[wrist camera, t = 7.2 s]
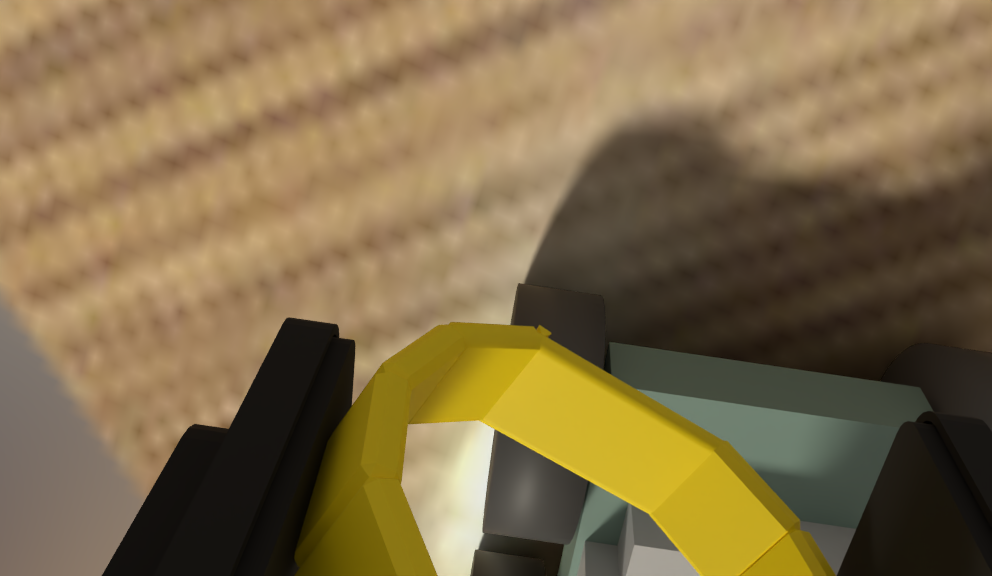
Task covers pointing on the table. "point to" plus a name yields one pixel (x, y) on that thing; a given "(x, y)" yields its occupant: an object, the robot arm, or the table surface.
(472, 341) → the watch
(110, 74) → the table surface
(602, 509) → the grey-green toy cart
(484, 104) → the table surface
